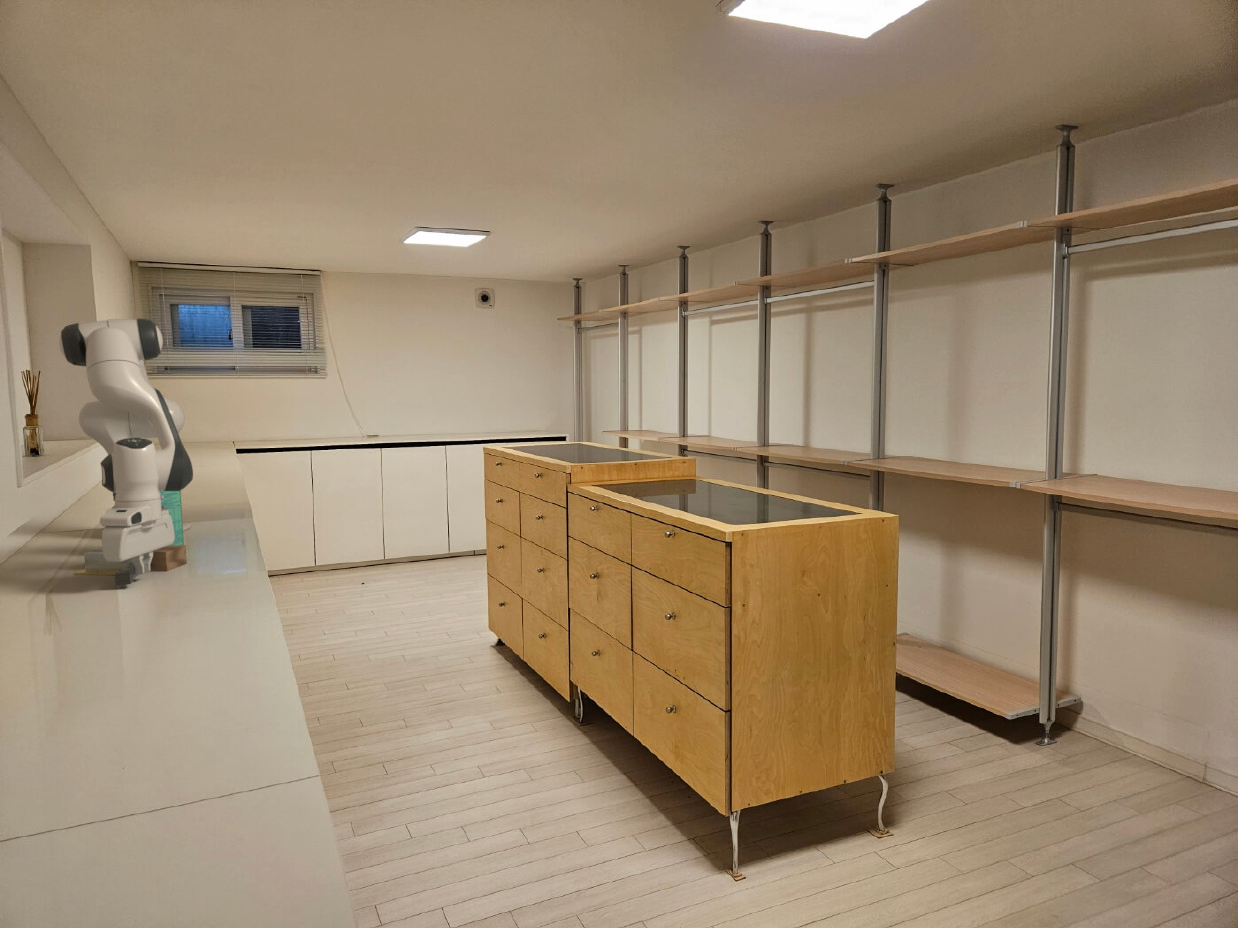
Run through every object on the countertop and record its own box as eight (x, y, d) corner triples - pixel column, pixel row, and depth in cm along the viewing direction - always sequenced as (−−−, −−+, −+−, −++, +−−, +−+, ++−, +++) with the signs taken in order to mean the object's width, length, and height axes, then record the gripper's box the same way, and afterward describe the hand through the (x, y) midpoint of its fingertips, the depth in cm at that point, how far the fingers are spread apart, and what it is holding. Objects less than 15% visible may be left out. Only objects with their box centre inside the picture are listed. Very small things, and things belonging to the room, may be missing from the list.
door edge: (108, 562, 203) (107, 544, 202) (186, 563, 202) (185, 545, 201) (85, 569, 195) (84, 551, 194) (166, 571, 194) (165, 552, 193)
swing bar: (135, 568, 193) (134, 555, 193) (149, 567, 194) (148, 554, 193) (115, 586, 177) (114, 572, 176) (130, 585, 178) (130, 571, 177)
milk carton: (184, 550, 216) (178, 455, 214) (162, 558, 207) (156, 459, 205) (152, 549, 217) (146, 455, 215) (128, 557, 208) (122, 458, 206)
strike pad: (86, 570, 195) (86, 568, 195) (135, 570, 194) (135, 569, 194) (74, 574, 191) (74, 572, 191) (124, 575, 190) (124, 573, 190)
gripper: (154, 504, 194) (157, 562, 195) (94, 519, 173) (98, 584, 175) (180, 504, 193) (183, 562, 195) (123, 519, 173) (127, 584, 174)
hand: (143, 572), depth 185 cm, fingers closed
